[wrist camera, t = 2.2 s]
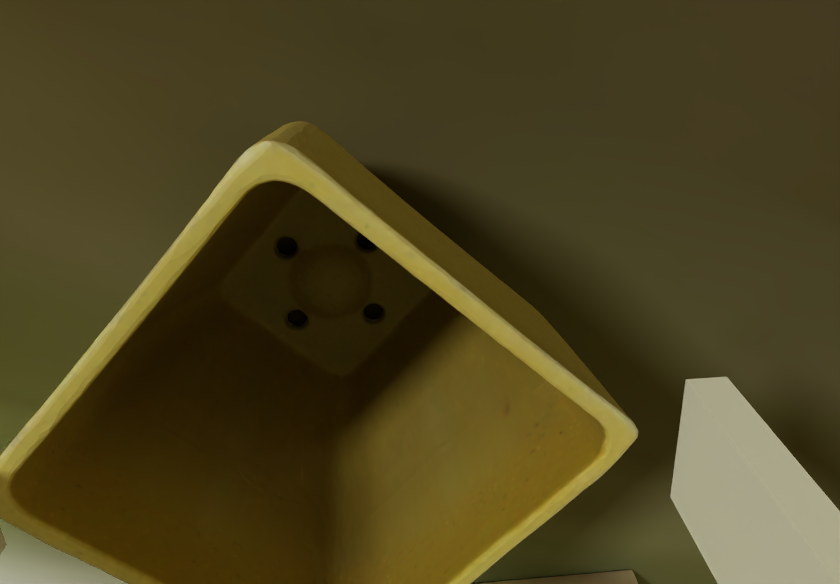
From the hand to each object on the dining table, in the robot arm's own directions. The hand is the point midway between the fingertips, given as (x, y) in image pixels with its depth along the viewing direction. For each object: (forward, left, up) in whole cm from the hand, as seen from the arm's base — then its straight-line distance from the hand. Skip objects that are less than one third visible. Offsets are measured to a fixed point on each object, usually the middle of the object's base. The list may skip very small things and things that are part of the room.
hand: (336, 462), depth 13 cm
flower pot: (0, 0, -9) cm, 9 cm away
